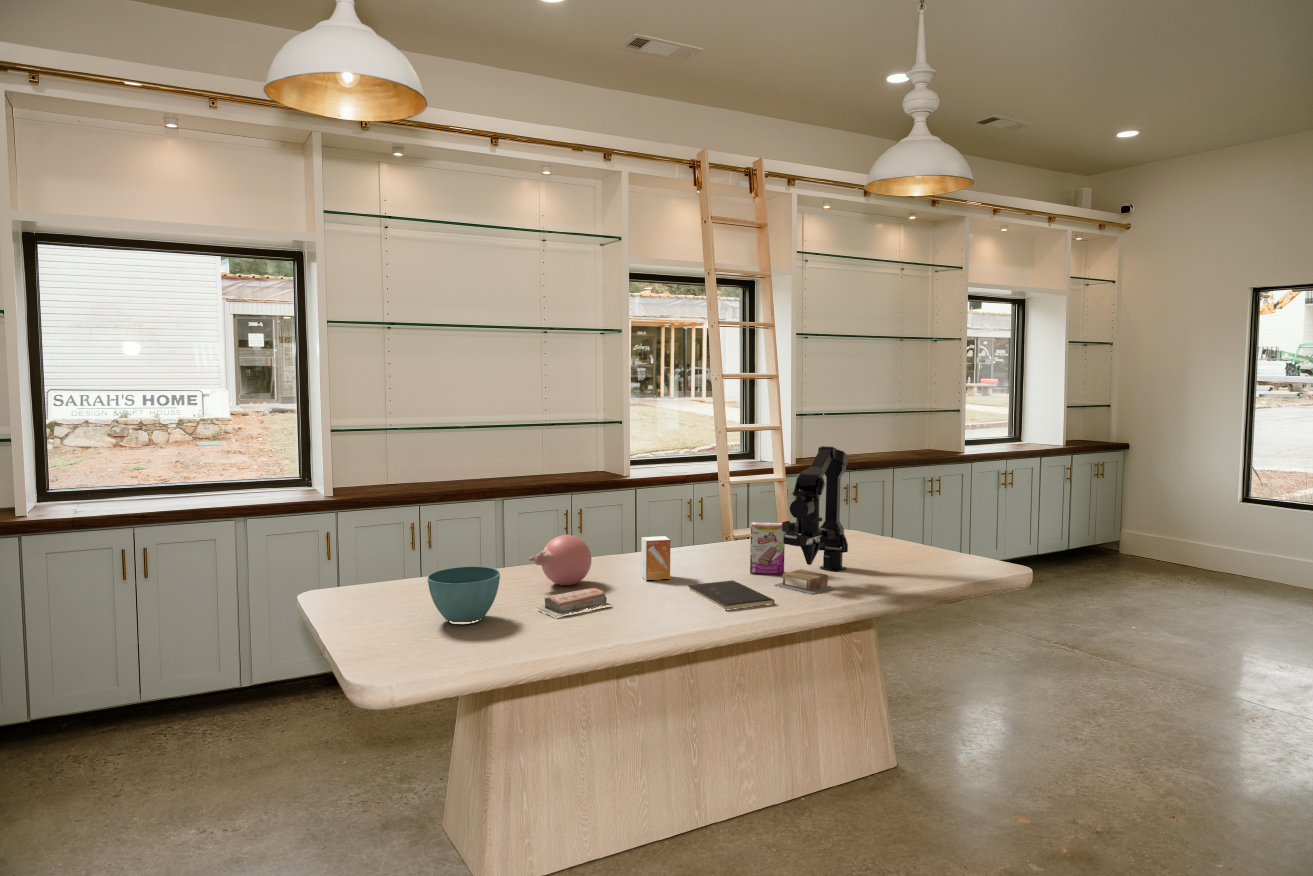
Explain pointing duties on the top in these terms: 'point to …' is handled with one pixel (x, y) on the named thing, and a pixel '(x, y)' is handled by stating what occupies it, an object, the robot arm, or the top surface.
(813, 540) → the robot arm
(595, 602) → the packaged product
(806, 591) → the grey rubber mat
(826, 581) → the walnut slab
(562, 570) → the balloon
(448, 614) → the teal bowl
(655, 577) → the small box
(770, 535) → the candy bar box
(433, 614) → the top surface
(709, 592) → the hardcover book
